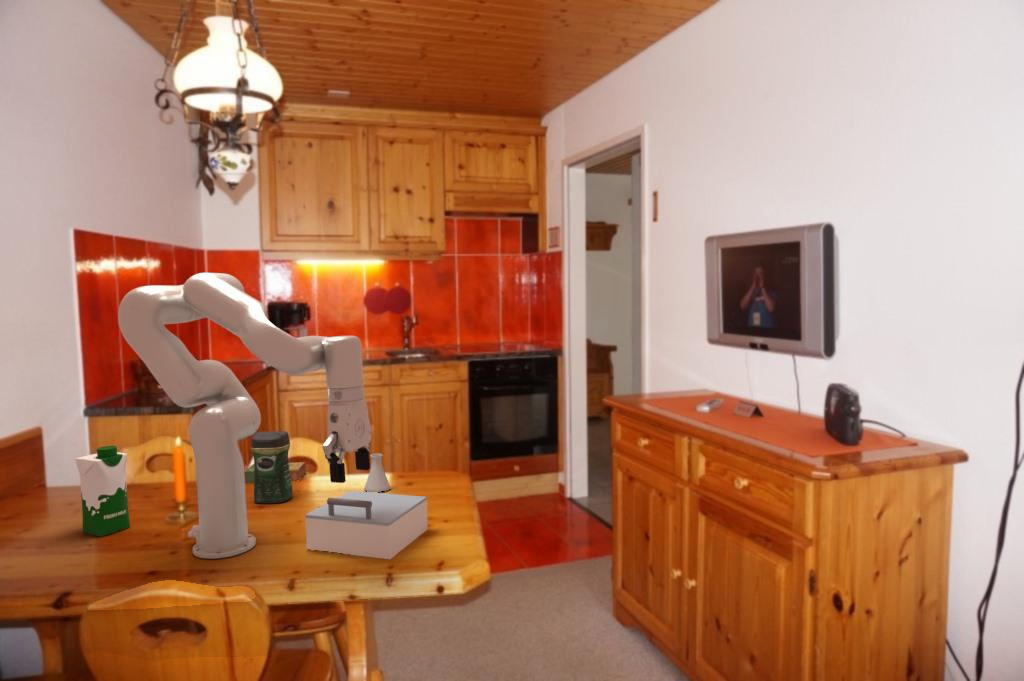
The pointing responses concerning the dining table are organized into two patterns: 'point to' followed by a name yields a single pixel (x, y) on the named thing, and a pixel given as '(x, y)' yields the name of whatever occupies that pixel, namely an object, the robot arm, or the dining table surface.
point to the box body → (366, 535)
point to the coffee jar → (271, 467)
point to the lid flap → (367, 507)
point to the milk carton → (104, 491)
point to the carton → (295, 469)
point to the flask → (377, 476)
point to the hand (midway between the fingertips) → (351, 475)
